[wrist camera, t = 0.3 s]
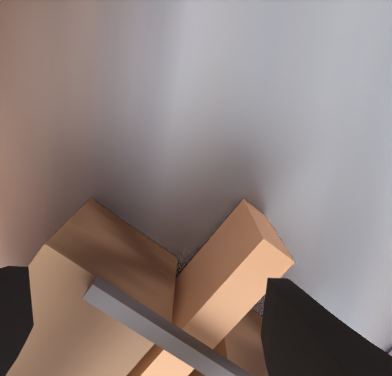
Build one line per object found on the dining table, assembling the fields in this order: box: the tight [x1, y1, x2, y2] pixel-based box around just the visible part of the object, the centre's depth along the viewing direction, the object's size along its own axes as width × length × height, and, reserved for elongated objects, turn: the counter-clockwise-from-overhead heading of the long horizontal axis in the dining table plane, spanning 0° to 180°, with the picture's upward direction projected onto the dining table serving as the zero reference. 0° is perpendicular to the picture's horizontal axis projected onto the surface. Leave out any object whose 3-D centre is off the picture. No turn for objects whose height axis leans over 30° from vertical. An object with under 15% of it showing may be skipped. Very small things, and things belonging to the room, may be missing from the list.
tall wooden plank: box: [127, 199, 295, 376], centre depth 18 cm, size 2×12×6 cm, turn 142°
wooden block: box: [6, 198, 269, 376], centre depth 18 cm, size 16×8×7 cm, turn 52°
